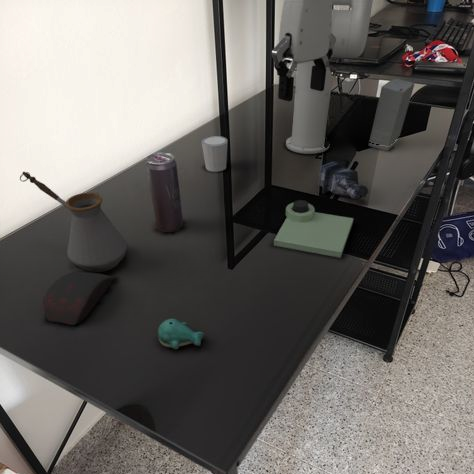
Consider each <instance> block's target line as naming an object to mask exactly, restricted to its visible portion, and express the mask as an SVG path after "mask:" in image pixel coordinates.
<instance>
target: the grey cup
mask: <svg viewBox="0 0 474 474" xmlns="http://www.w3.org/2000/svg"><path fill="white" fill-rule="evenodd" d="M201 147H202V154H203V159H204V166H205V169H206V170H207V171H208V172H213V173H218V172H222V171H225V170H226V169H227V163H228V162H227V158H228V139H227V138H226V137H224V136H220V135H211V136H206V137H204V138H202V139H201Z"/></svg>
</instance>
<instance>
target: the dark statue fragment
mask: <svg viewBox="0 0 474 474" xmlns="http://www.w3.org/2000/svg"><path fill="white" fill-rule="evenodd" d="M346 164H347V161H345V160H344V161H341V162H338V163H337V161H330V162H328V163H325V164H322V165H320V166H319V175H318V183H317V184H318V187H322V191H321V192H322V194H326V193H328V192H331V193H332V194H334V195H338V196H342V197H346V198H347V197H351V198H352V199H353V200H357V201H362V200H365V199H366V198H367V197H368V195H369V189H368V187H367V186H366V185H362V184H360V182H359V174H358V170H354V169H350V168H347V167H346Z"/></svg>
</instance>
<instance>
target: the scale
mask: <svg viewBox="0 0 474 474" xmlns="http://www.w3.org/2000/svg"><path fill="white" fill-rule="evenodd" d="M293 203H294V202H291V203H289V204H287V206H286V207H285V216H286V218H285V220H284V222H283V223H282V225H281V227H280V228H279V231H278V232H277V234H276V235H275V237H274V239H273V246H274V247H280V248H285V249H290V250H297V251H301V252H307V253H313V254H317V255H318V254H319V255H324V256H329V257H333V258H340V259H341V258H342V255H343V253H344V250H345V247H346V244H347V241H348V238H349V235H350V232H351V230H352V227H353V224H354V217H348V216H342V215H341V216H340V215H335V214H328V213H322V212H316V210H315V209H316V208H315V207H314V205H313V204H310V203H308V211H307V212H305V213H297V212H294V211H293Z"/></svg>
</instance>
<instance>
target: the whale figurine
mask: <svg viewBox="0 0 474 474" xmlns="http://www.w3.org/2000/svg"><path fill="white" fill-rule="evenodd" d="M157 329H158V330H157V337H158V338H157V339H158V341H159V342H160V344H161V345H162V346H164V347H166V348H172V349H174V350H177V349H179V347H183V346H187V345H191V344H193V345H195V346H197V347H199V346H201V344H202V339H203V338H204V337H205V333H204V332H203V331H193V329H191V328H190V327H189V324H188V322H186V321H184V322H181V321H180V320H178V319H176V318H168V319H165V320H164V321H163V322H162V323H160V325H159V326H158V328H157Z"/></svg>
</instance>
